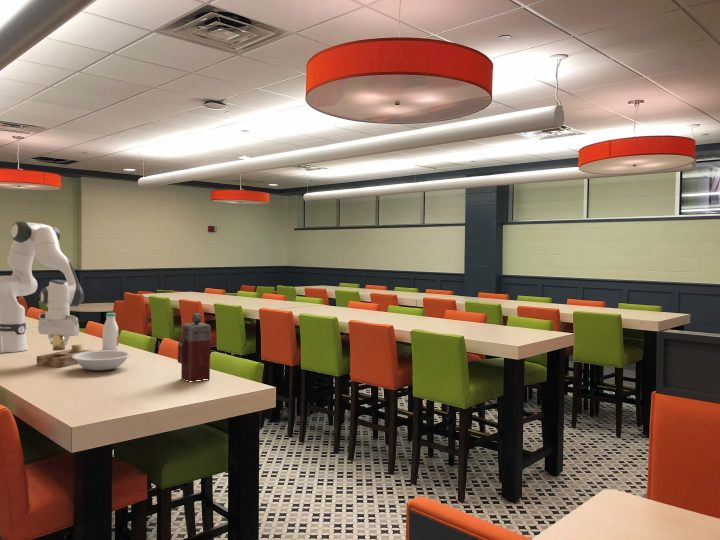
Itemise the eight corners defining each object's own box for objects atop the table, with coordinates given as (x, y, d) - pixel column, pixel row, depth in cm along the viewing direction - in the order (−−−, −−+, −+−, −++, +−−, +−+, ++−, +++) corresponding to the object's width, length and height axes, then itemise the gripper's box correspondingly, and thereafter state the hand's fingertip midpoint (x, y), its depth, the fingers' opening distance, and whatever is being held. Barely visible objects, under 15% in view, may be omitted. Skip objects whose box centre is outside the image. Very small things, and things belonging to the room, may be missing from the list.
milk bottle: (114, 351, 296) (114, 313, 296) (99, 351, 297) (100, 313, 296) (120, 349, 304) (121, 312, 304) (106, 348, 304) (107, 312, 304)
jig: (36, 365, 258) (36, 349, 258) (73, 357, 279) (73, 342, 279) (61, 367, 254) (62, 351, 254) (96, 359, 275) (96, 344, 275)
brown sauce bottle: (175, 379, 236) (176, 312, 235) (201, 376, 243) (202, 311, 243) (184, 383, 229) (185, 314, 229) (209, 380, 236) (211, 313, 236)
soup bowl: (59, 370, 247) (59, 355, 247) (106, 362, 268) (107, 348, 268) (96, 377, 236) (96, 362, 236) (142, 368, 257) (142, 353, 257)
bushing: (58, 348, 264) (58, 333, 263) (67, 349, 262) (67, 334, 262) (50, 350, 259) (50, 334, 259) (58, 350, 258) (59, 335, 257)
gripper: (82, 315, 261) (82, 344, 261) (46, 313, 266) (46, 342, 266) (72, 316, 254) (72, 347, 255) (35, 314, 260) (35, 344, 260)
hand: (58, 344), depth 261 cm, fingers closed on bushing, 5 cm apart
